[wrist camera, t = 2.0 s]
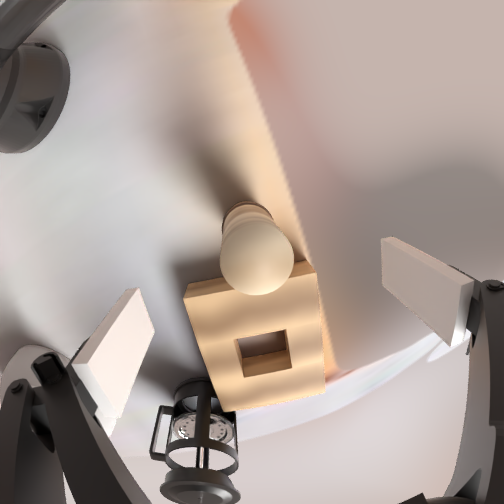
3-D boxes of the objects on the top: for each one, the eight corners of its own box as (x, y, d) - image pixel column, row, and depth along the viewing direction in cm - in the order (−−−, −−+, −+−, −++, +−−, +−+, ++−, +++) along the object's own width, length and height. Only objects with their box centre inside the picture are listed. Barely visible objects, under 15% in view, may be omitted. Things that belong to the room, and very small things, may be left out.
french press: (244, 380, 37) (259, 532, 15) (238, 420, 40) (247, 548, 18) (160, 372, 36) (126, 519, 14) (165, 413, 39) (144, 539, 17)
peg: (219, 202, 30) (209, 231, 17) (264, 193, 30) (290, 215, 17) (228, 245, 32) (226, 303, 18) (271, 236, 32) (300, 288, 18)
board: (188, 283, 33) (183, 298, 29) (306, 260, 33) (316, 272, 29) (223, 392, 38) (223, 412, 34) (318, 374, 38) (325, 392, 35)
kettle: (8, 311, 32) (-72, 391, 11) (125, 373, 36) (78, 501, 15) (21, 401, 38) (-21, 471, 17) (112, 447, 42) (88, 534, 21)
